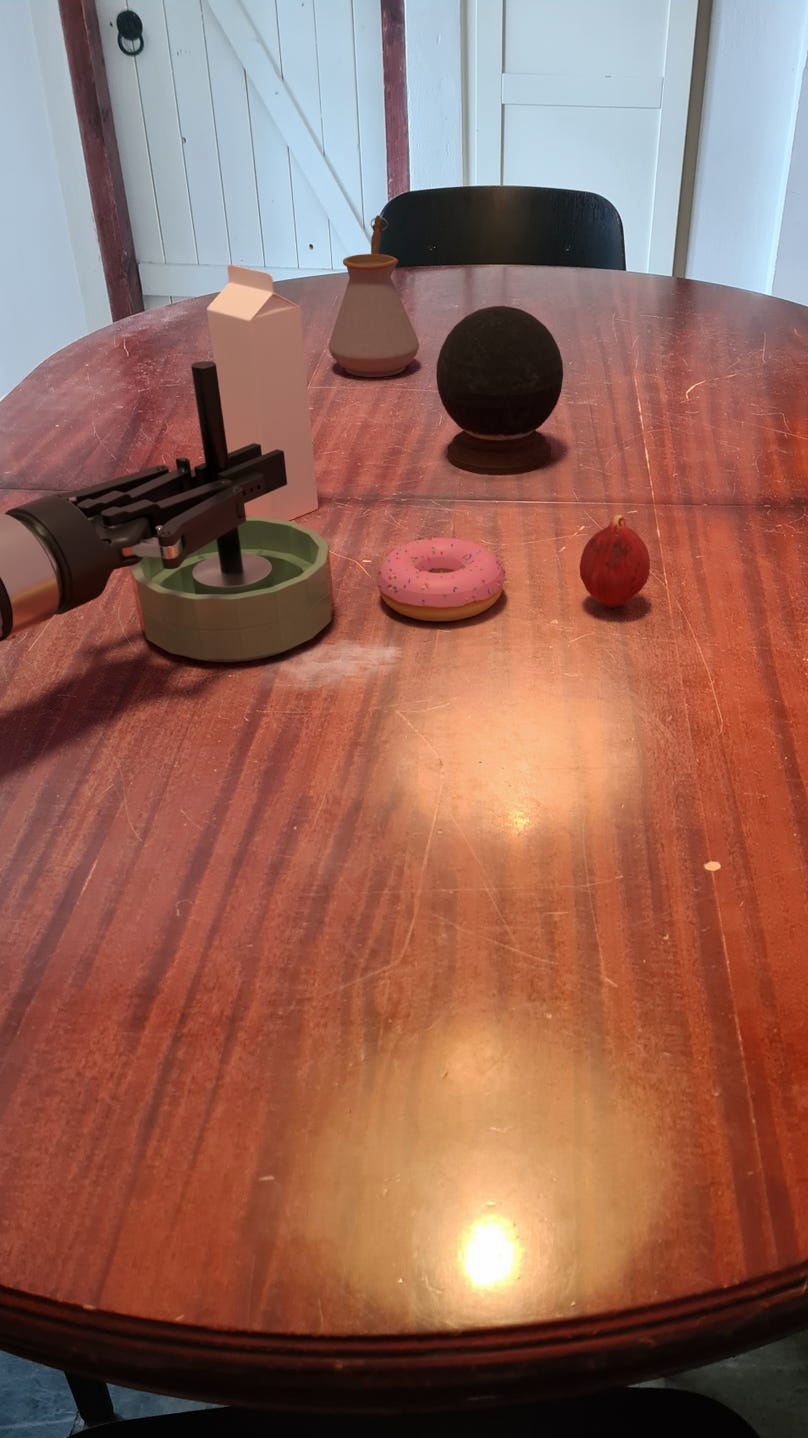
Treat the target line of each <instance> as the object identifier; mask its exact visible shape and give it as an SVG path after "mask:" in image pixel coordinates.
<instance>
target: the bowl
mask: <svg viewBox="0 0 808 1438" xmlns="http://www.w3.org/2000/svg"><path fill="white" fill-rule="evenodd" d="M238 532H239V540H240V547H241V553H245V554H253V555H258V556H261V557H263V558H265V559H267V560H268V561H269V562H270V563H271V565H272V571H273V579H274V586H273V587H270V588H266V589H260V590H255V591H249V592H244V593H238V594H200V595H197V594H195V590H194V583H193V577H192V571H193V569H194V567H195V566H196V565H197V564H199V563H200V562H202V561H204V560H206V559H208V558H211V557H214V556H218V555H219V554H218V548H217V541H216V540H214V541H212V542H210V543H209V544H207V545H205V546H204V547H202V548H200V549H199V550H197V551H195V552H194V553H192V554H190V555H189V556H187V557H186V559H185V560H184V561H183V562H182V564H181V565H180V566H179V567H178V568H176V569H165V568H163V565H162V560H161V558H150V557H143V559H142V560H141V561H140V562H139V563H138V564H136V565H133V566H128V568H129V574H130V579H131V585H132V589H133V593H134V599H135V605H136V609H137V615H138V619H139V624H140V627H141V629H142V631H143V633H144V635H145V638H146V640H147V641H149V642H150V643H152V644H154V645H155V646H157V647H159V648H160V649H163V650H164V651H166V652H167V653H169V654H174V655H178V656H183V657H186V658H189V659H192V660H193V659H194V660H198V661H203V662H213V663H214V662H215V663H238V662H247V661H248V662H249V661H254V660H260V659H265V658H268V657H274V656H276V655H279V654H282V653H284V652H287V651H290V650H293V649H294V648H296V647H298V646H300V645H301V644H303V643H306V642H308V641H310V640H312V639H314V638H315V636H317V635H318V634H319V633H320V632H321V631H322V630H323V629H324V628H325V627H327V625H329V623H331V621H332V617H333V616H332V615H333V610H334V607H335V602H334V590H333V580H332V579H333V578H332V568H331V556H330V555H331V554H330V546H329V544H328V543H327V542H326V541H325V539H324V538H323V537H322V536H321V534H320V533H319V532H318V531H316V530H314V529H311V528H309V527H307V526H305V525H303V524H300V523H297V522H295V521H292V520H290V521H285V520H279V519H273V518H267V517H247V516H246V521H245V522H244V523H242V524H241V525H239V526H238Z"/></svg>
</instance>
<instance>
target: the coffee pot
mask: <svg viewBox="0 0 808 1438" xmlns="http://www.w3.org/2000/svg"><path fill="white" fill-rule="evenodd" d="M370 220H371V221H370V223H369V224H370V227H371V229H372V231H373V232H372V235H371V237H370V240H371V241H370V253H362V254H355V255H350V256H347V257H345V258H343V259H342V264H343V266H344V267H346V270H347V273H348V278H349V279H348V282H347V285H346V287H345V291H344V295H343V298H342V301H341V304H340V307H339V310H338V314H337V316H336V319H335V323H334V325H333V326H334V327H333V329H332V333H331V336H330V338H329V341H328V350H329V353H330V355H331V356H332V358H333V359H334V360H335V361H336V362H337V364H338V365H339V366H341V367H343V368H344V370H345V371H346V373H348V374H350V375H353V376H356V377H363V378H383V377H390V376H393V375H397V374H400V373H402V372H404V371H405V370H406V366H408V365H409V364H411V362H412V361H413V360H414V359H415V357H416V356H417V354H418V352H419V348H420V342H419V339H418V337H417V334H416V332H415V330H414V327H413V325H412V322H411V321H410V318H409V316H408V313H407V311H406V308H405V307H404V304H403V302H402V300H401V298H400V295H399V293H398V291H397V288H396V285H395V284H394V282H393V279H392V274H393V273H394V270H395V269H396V266H397V264H398V263H399V260H398V258H396V257H394V256H393V255H392V256H391V255H388V254H383V253H382V254H380V249H381V243H382V237H381V236H382V235H381V233H382V231H385V230H386V229H387V228H388V226H389V223H388V221H387V219H386V218H384V217H381V216H380V215H375V217H374V218H373V219H370ZM382 220H383V221H384V222H385V223H386V225H385V227H384V228H383V226H382V225H381V224H382ZM373 221H374V224H372V223H373Z"/></svg>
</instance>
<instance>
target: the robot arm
mask: <svg viewBox="0 0 808 1438" xmlns="http://www.w3.org/2000/svg"><path fill="white" fill-rule="evenodd" d="M228 458H229V465H230V469H228V470H226V471H223V472H221V473H218V474H217V475H218V480H217V481H215V482H212V483H209V484H208V479H207V472H206V465H205V462H203V463H201V464H198V465H196V466H193V469H192V468H191V461H190V458H188V457H178V458H175V465H176V469H174V470H171V471H170V469H169V466H168V465H165V464H159V465H156V466H152V467H149V468H146V469H142V470H139V471H136V472H133V473H129V474H126V475H123V476H119V477H116V478H114V479H109V480H108V481H102V482H100V483H97V484H94V485H91V486H88V487H84V488H81V489H78V490H77V489H76V490H71V491H66V492H60V493H54V494H50V495H45V496H42V497H39V498H37V499H34V500H30V501H29V502H26V503H24V504H21V505H18V506H15V507H13V508H11V509H8V510H7V511H5V513H0V643H1V642H3V641H9V642H10V641H12V640H14V639H15V638H16V637H17V635H18V634H20V633H22V632H25V631H26V630H29V629H31V628H33V627H35V626H38V625H40V624H43V623H45V622H47V621H48V620H51V619H52V618H53V617H54V616H55V615H56V616H58V615H59V616H60V615H63V614H66V613H68V612H71V611H72V610H75V609H76V608H79V607H81V606H83V605H85V604H87V603H90V602H92V601H93V600H96V599H98V598H99V597H100V596H101V595H102V594H103V593H104V591H105V589H106V587H107V585H108V581H109V579H110V578H111V575H112V573H113V572H114V571H116V570H119V569H122V568H127V567H128V568H129V566H133V565H136V564H138V563H139V562H140V561H141V560H142V559H143V557H150V558H161V560H162V565H163V568H165V569H176V568H178V567H179V566H180V565H181V564H182V562H183V561H184V560H185V559H186V557H187V556H189V555H190V554H192V553H194V552H195V551H197V550H199V549H200V548H202V547H204V546H205V545H207V544H209V543H210V542H212V541H214V540H216V539H217V538H219V537H221V536H222V535H224V534H226V533H227V532H229V531H231V530H232V529H234V528H236V527H237V526H239V525H241V524H242V523H244V522H245V521H246V517H247V516H246V514H245V506H244V503H247V502H249V501H251V500H254V499H256V498H258V497H260V496H263V495H265V494H267V493H269V492H272V491H274V490H276V489H278V488H281V487H283V486H285V485H287V477H286V467H285V458H284V451H281V450H278V449H276V450H274V451H271V452H269V453H267V454H264V455H262V451H261V445H259V444H256V443H253V444H250V445H248V446H245V447H243V448H240V449H238V450H235V451H233V452H230V453H228Z"/></svg>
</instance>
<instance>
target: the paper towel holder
mask: <svg viewBox="0 0 808 1438" xmlns="http://www.w3.org/2000/svg"><path fill="white" fill-rule="evenodd" d="M190 369H191V376H192V383H193V388H194V396H195V403H196V408H197V409H196V411H197V416H198V417H197V418H198V423H199V430H200V436H201V445H202V451H203V458H204V463H205V465H206V472H207V479H208V484H209V483H212V482H215V481H217V480H218V475H217V474H218V473H221V472H223V471H226V470H228V469H230V465H229V458H228V450H227V443H226V435H225V428H224V420H223V413H222V405H221V398H220V390H219V383H218V376H217V368H216V364H215V363H214V361H209V360H203V361H201V360H200V361H195V362H194V363H192V364H191V365H190ZM216 541H217V548H218V554H219V555H218V556H214V557H211V558H208V559H206V560H204V561H202V562H200V563H199V564H197V565H196V566H195V567H194V569H193V571H192V577H193V583H194V590H195V594H197V595H200V594H238V593H244V592H249V591H255V590H260V589H266V588H270V587H273V586H274V579H273V571H272V565H271V563H270V562H269V561H268V560H267V559H265V558H263V557H261V556H258V555H253V554H245V553H241V547H240V540H239V532H238V526H237V527H236V528H234V529H232V530H231V531H229V532H227V533H226V534H224V535H222V536H221V537H219V538H217V539H216Z"/></svg>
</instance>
